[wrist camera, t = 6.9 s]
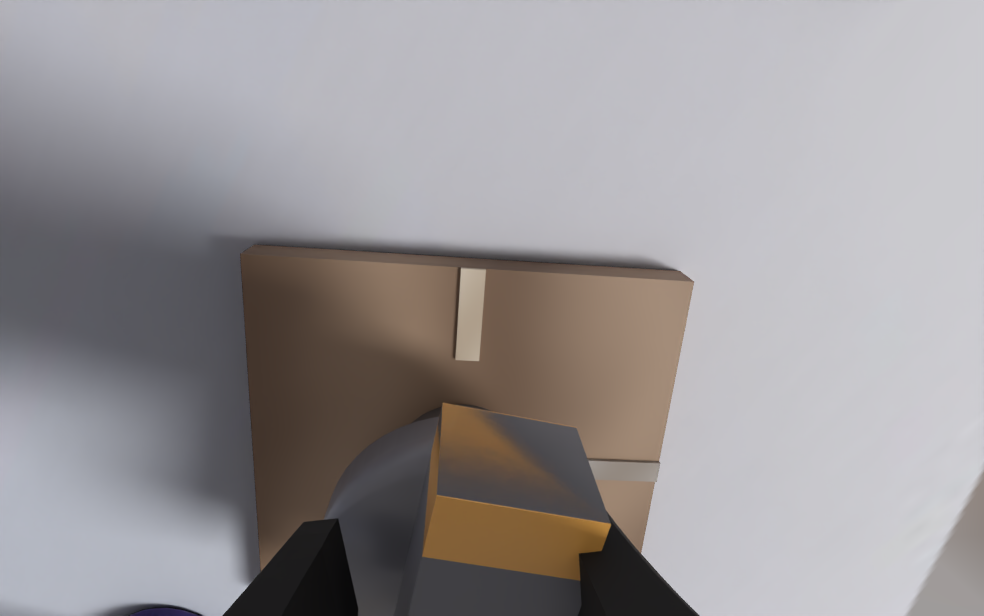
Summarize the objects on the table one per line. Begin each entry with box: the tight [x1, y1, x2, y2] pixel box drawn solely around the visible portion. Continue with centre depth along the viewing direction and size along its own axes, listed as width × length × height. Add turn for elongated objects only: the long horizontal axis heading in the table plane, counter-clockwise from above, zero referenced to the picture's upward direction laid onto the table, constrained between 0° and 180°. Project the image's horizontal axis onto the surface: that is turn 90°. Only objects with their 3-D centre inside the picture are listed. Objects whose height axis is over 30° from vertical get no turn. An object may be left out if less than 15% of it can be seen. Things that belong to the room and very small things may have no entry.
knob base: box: [240, 245, 694, 571], centre depth 15 cm, size 11×11×4 cm
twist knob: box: [324, 403, 611, 616], centre depth 11 cm, size 8×6×4 cm
